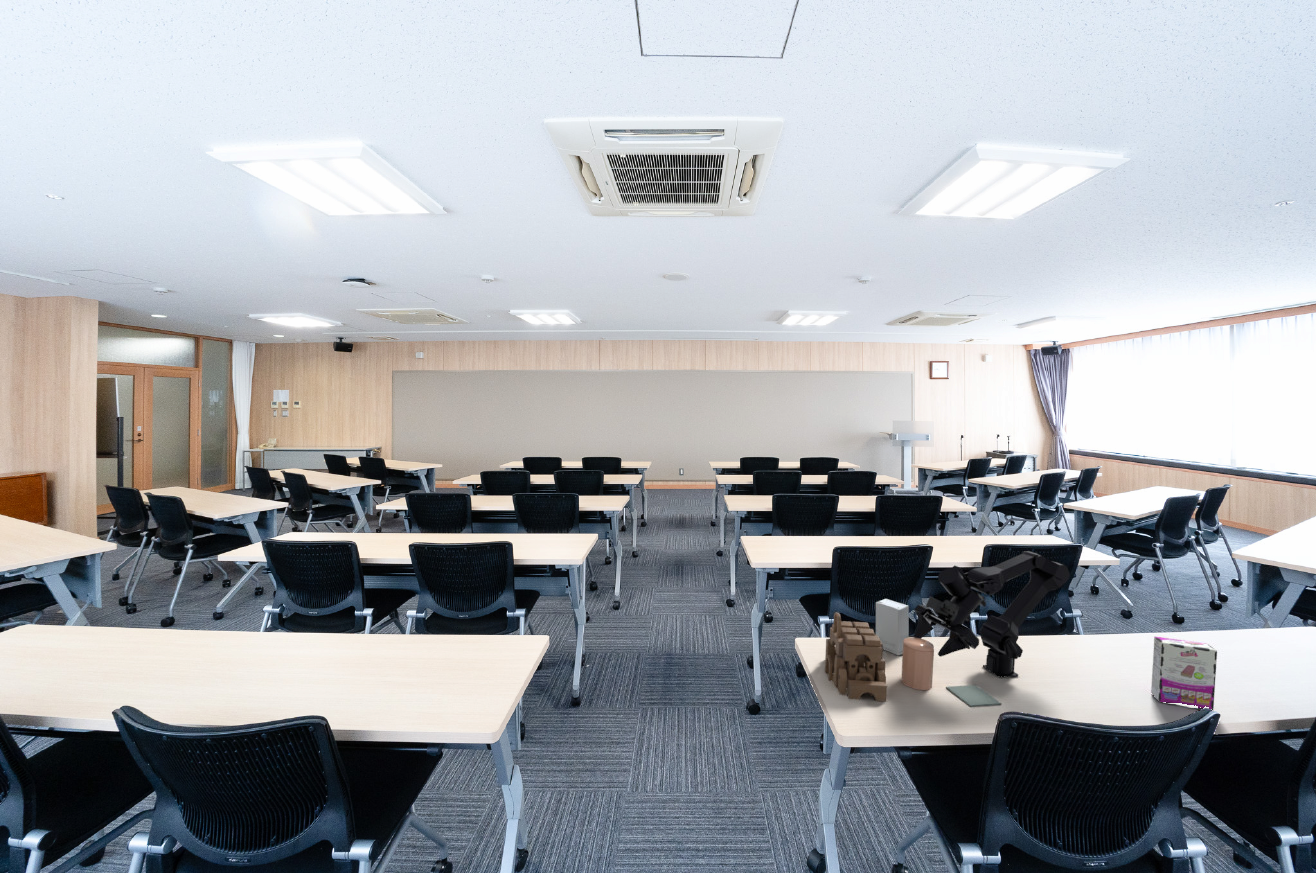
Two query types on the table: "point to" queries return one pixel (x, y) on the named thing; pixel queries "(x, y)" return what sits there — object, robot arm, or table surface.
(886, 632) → the skincare box
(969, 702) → the mat
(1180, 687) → the candy bar box
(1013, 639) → the robot arm
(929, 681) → the salmon pink cylinder
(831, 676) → the wooden puzzle
